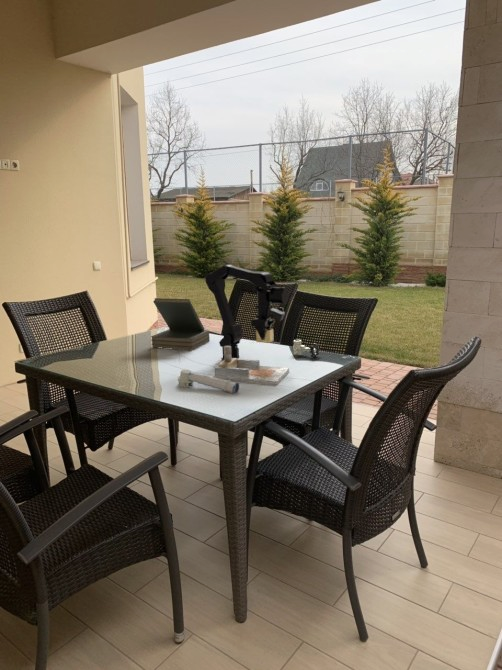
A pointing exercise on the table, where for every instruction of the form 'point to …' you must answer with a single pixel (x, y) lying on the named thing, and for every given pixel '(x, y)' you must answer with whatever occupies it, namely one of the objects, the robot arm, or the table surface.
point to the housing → (266, 336)
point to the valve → (305, 348)
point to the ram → (228, 358)
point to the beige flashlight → (207, 381)
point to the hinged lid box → (179, 325)
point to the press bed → (251, 372)
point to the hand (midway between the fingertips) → (265, 338)
